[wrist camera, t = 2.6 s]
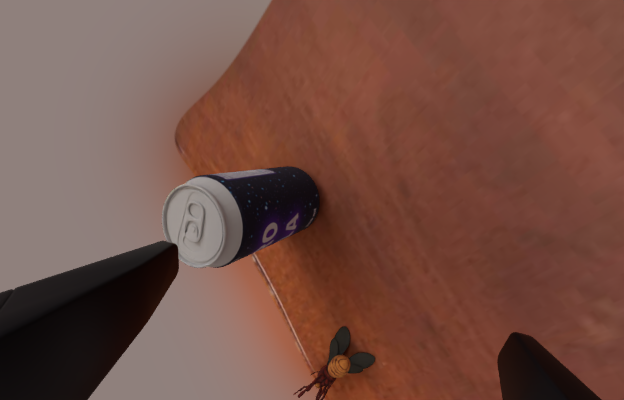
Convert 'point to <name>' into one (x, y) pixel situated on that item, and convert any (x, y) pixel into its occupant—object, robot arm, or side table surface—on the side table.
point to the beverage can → (237, 213)
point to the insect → (339, 364)
